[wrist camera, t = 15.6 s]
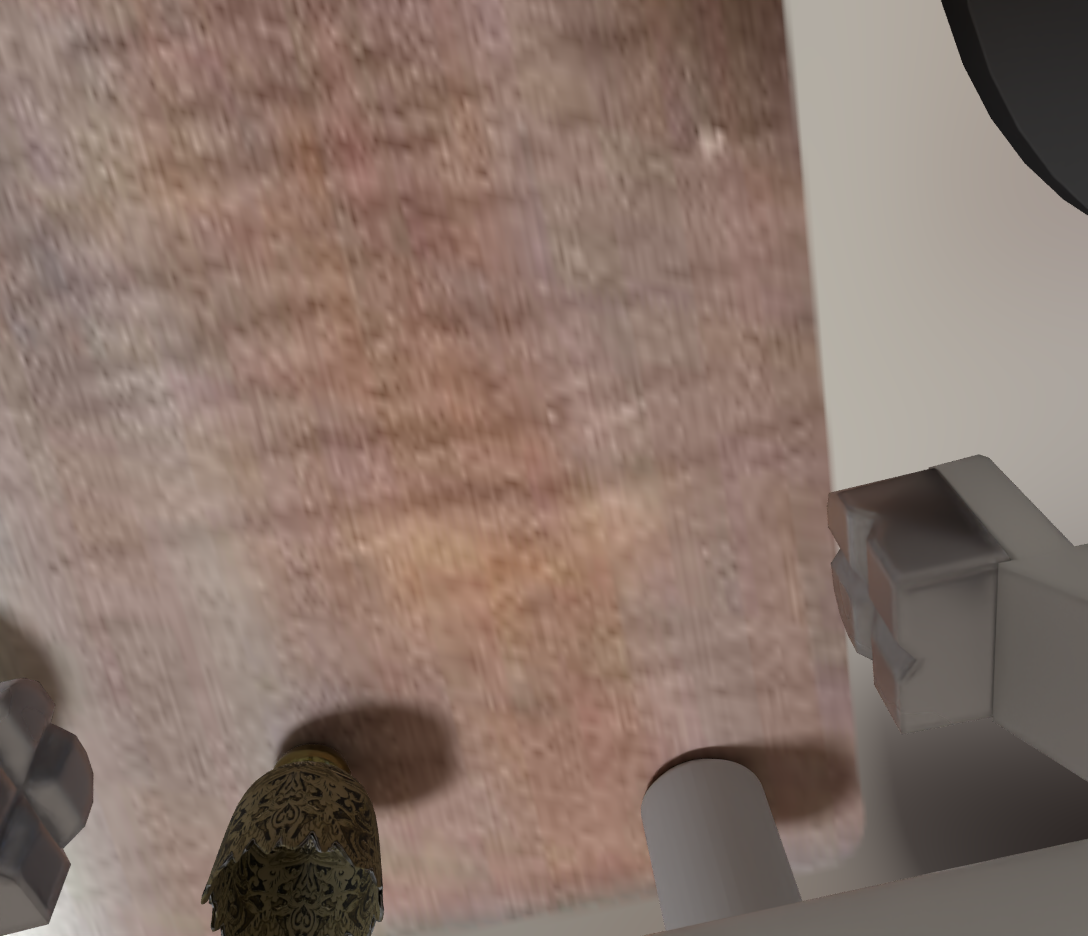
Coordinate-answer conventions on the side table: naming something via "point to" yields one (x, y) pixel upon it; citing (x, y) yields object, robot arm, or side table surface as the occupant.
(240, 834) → the cup
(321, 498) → the side table surface
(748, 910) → the beverage can
